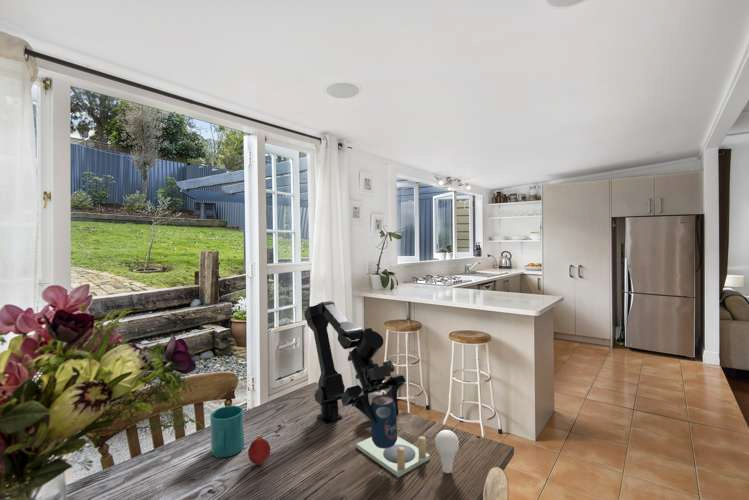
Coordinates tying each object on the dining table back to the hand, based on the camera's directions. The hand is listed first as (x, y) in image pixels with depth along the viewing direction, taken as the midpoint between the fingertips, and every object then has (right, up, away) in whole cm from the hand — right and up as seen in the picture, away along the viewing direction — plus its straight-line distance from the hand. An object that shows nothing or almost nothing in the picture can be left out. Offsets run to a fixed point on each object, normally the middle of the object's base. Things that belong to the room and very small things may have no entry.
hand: (386, 419), depth 99 cm
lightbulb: (+16, -13, -2) cm, 21 cm away
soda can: (0, -7, +2) cm, 7 cm away
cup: (-46, -14, +9) cm, 49 cm away
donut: (-3, -13, +26) cm, 29 cm away
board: (+2, -13, +7) cm, 15 cm away
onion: (-35, -14, +3) cm, 38 cm away
